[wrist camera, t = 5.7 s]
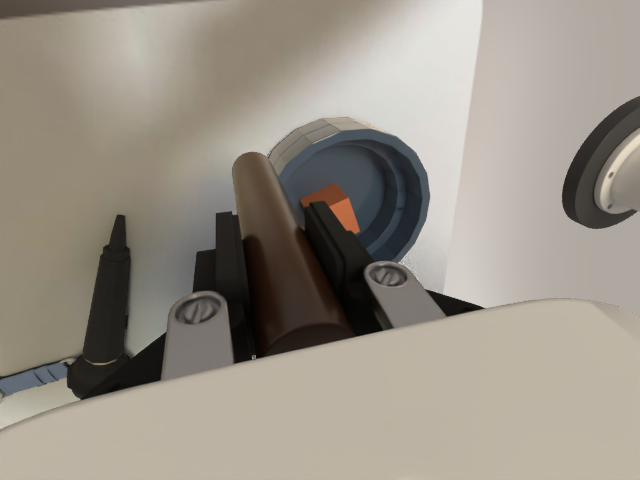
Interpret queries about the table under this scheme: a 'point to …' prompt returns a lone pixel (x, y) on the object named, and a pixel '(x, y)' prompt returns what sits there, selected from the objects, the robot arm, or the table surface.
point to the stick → (282, 267)
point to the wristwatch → (33, 378)
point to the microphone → (105, 318)
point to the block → (335, 205)
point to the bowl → (359, 180)
